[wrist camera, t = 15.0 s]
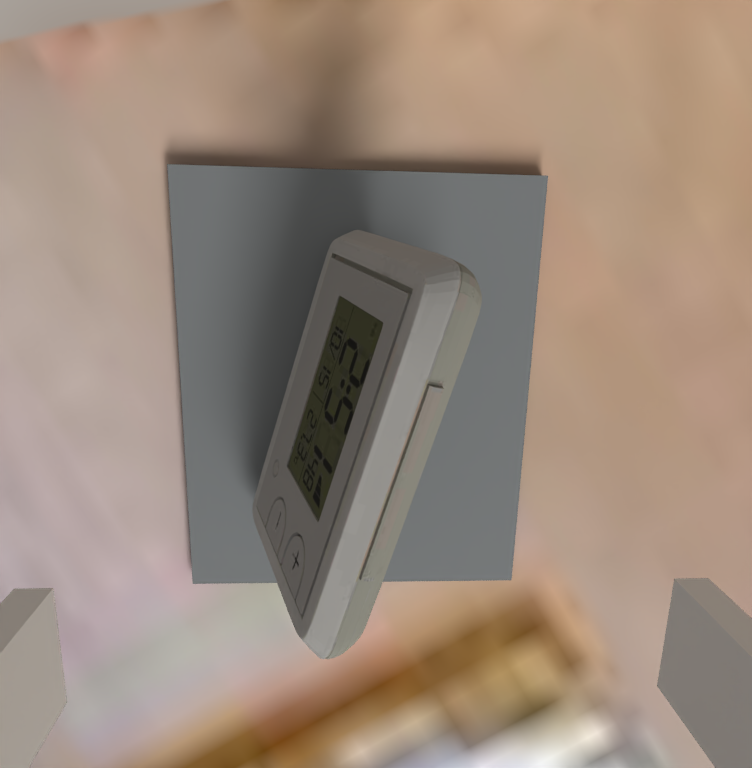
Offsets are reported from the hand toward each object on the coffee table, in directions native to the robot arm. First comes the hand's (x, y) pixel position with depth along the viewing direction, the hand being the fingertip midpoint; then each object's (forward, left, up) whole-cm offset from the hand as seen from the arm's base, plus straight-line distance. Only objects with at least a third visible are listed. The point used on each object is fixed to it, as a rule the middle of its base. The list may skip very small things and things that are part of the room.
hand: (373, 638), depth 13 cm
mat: (0, 0, -20) cm, 20 cm away
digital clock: (0, +1, -19) cm, 19 cm away
